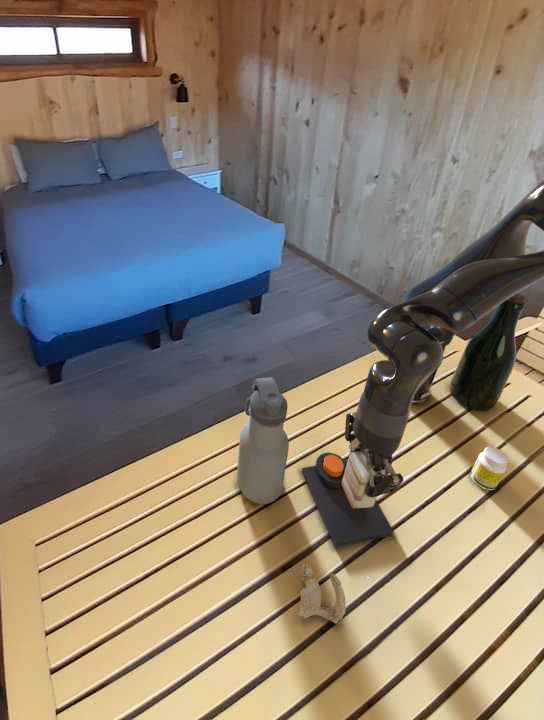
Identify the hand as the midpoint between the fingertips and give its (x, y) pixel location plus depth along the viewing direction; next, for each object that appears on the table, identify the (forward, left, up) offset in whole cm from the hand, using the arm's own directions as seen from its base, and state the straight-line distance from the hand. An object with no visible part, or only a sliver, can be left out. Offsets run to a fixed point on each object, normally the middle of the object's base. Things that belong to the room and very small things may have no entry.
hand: (362, 478), depth 75 cm
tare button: (-8, 0, -9) cm, 12 cm away
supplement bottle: (-2, +32, -12) cm, 34 cm away
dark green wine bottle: (-22, +47, -12) cm, 53 cm away
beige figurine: (+12, -14, -12) cm, 22 cm away
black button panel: (-3, 0, -12) cm, 12 cm away
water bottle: (-10, -16, -12) cm, 22 cm away
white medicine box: (0, 0, -6) cm, 6 cm away
